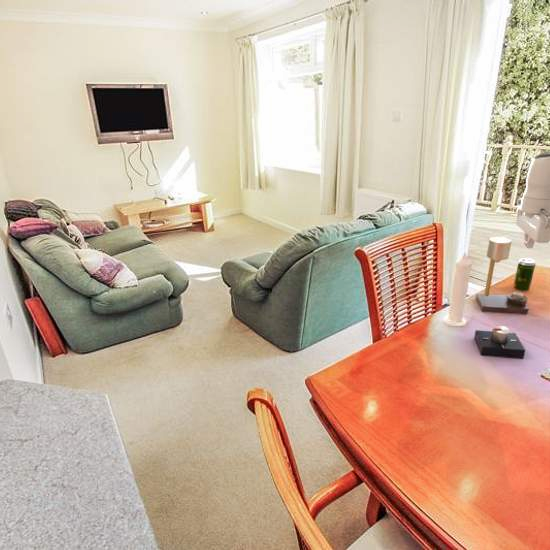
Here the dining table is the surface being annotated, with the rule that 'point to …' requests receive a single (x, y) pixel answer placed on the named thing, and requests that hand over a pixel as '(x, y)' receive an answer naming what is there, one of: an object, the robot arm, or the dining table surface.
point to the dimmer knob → (500, 334)
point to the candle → (459, 293)
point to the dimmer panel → (499, 345)
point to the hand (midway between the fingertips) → (528, 246)
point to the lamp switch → (517, 295)
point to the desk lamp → (496, 256)
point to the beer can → (524, 274)
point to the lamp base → (502, 304)
